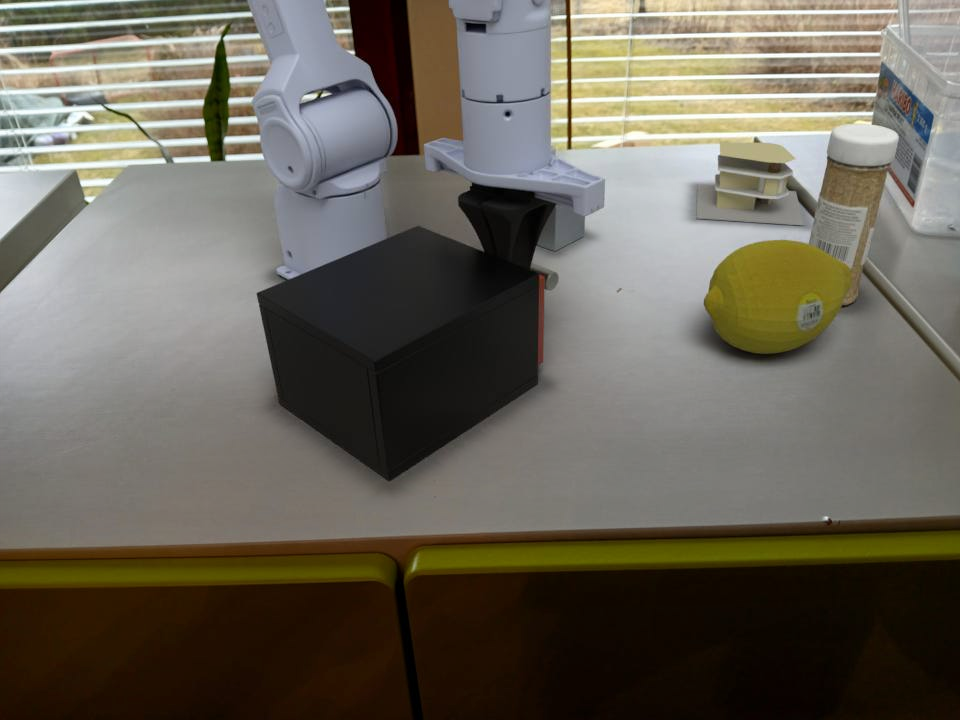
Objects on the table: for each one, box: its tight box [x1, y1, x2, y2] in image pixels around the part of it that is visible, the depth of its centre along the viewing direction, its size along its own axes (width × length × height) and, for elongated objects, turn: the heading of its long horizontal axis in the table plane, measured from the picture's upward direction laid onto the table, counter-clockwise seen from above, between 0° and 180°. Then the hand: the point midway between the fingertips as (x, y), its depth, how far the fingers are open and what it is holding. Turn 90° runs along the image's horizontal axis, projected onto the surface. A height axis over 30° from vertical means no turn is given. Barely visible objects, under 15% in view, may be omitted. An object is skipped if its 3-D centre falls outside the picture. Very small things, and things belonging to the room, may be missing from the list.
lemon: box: [703, 239, 852, 355], centre depth 56 cm, size 11×8×8 cm
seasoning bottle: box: [808, 123, 900, 306], centre depth 61 cm, size 5×5×13 cm
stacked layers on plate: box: [696, 142, 805, 226], centre depth 79 cm, size 10×9×6 cm
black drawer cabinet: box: [256, 225, 540, 482], centre depth 52 cm, size 14×12×9 cm
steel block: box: [537, 204, 586, 252], centre depth 74 cm, size 4×4×4 cm
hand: (511, 284), depth 57 cm, fingers closed, pressing on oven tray
